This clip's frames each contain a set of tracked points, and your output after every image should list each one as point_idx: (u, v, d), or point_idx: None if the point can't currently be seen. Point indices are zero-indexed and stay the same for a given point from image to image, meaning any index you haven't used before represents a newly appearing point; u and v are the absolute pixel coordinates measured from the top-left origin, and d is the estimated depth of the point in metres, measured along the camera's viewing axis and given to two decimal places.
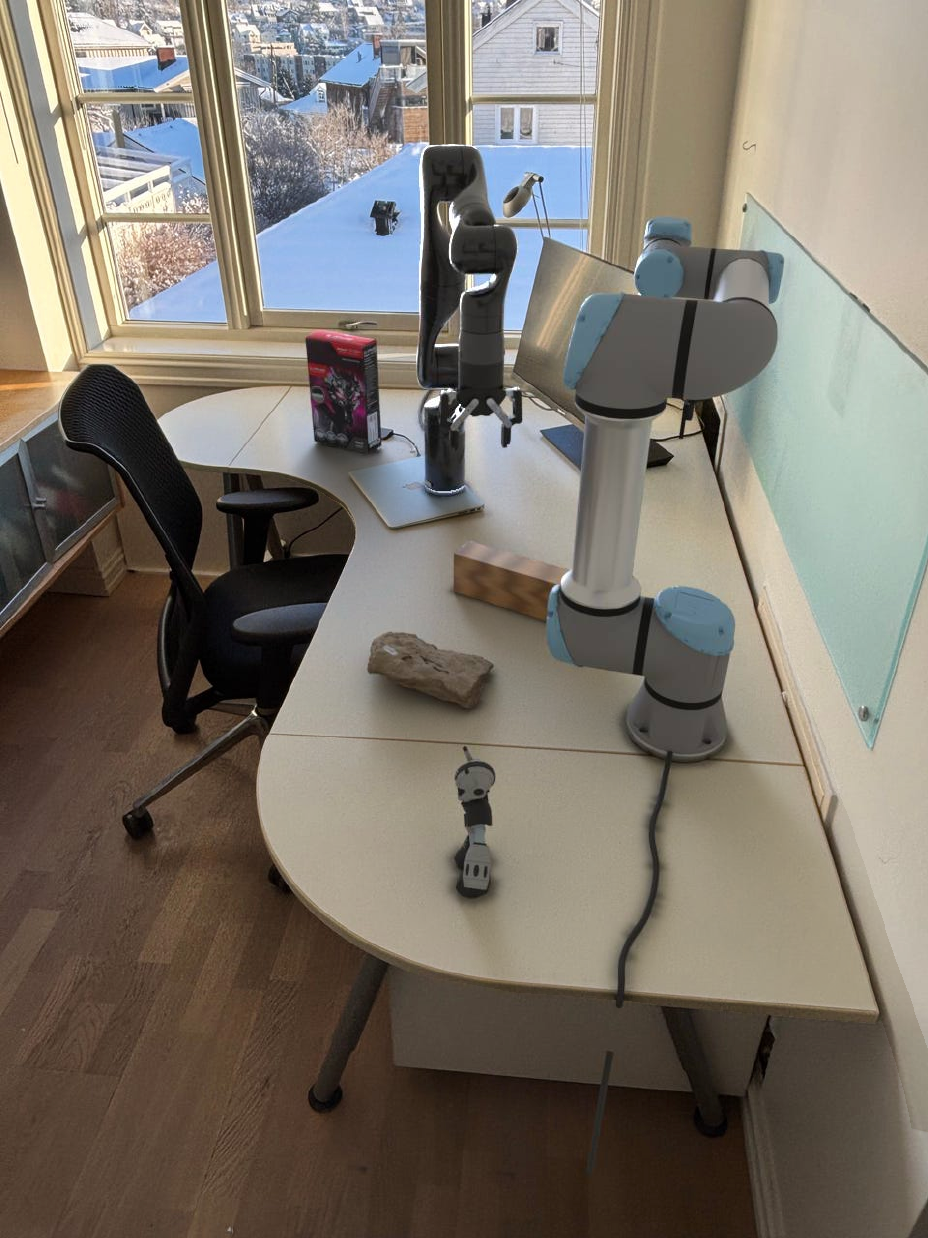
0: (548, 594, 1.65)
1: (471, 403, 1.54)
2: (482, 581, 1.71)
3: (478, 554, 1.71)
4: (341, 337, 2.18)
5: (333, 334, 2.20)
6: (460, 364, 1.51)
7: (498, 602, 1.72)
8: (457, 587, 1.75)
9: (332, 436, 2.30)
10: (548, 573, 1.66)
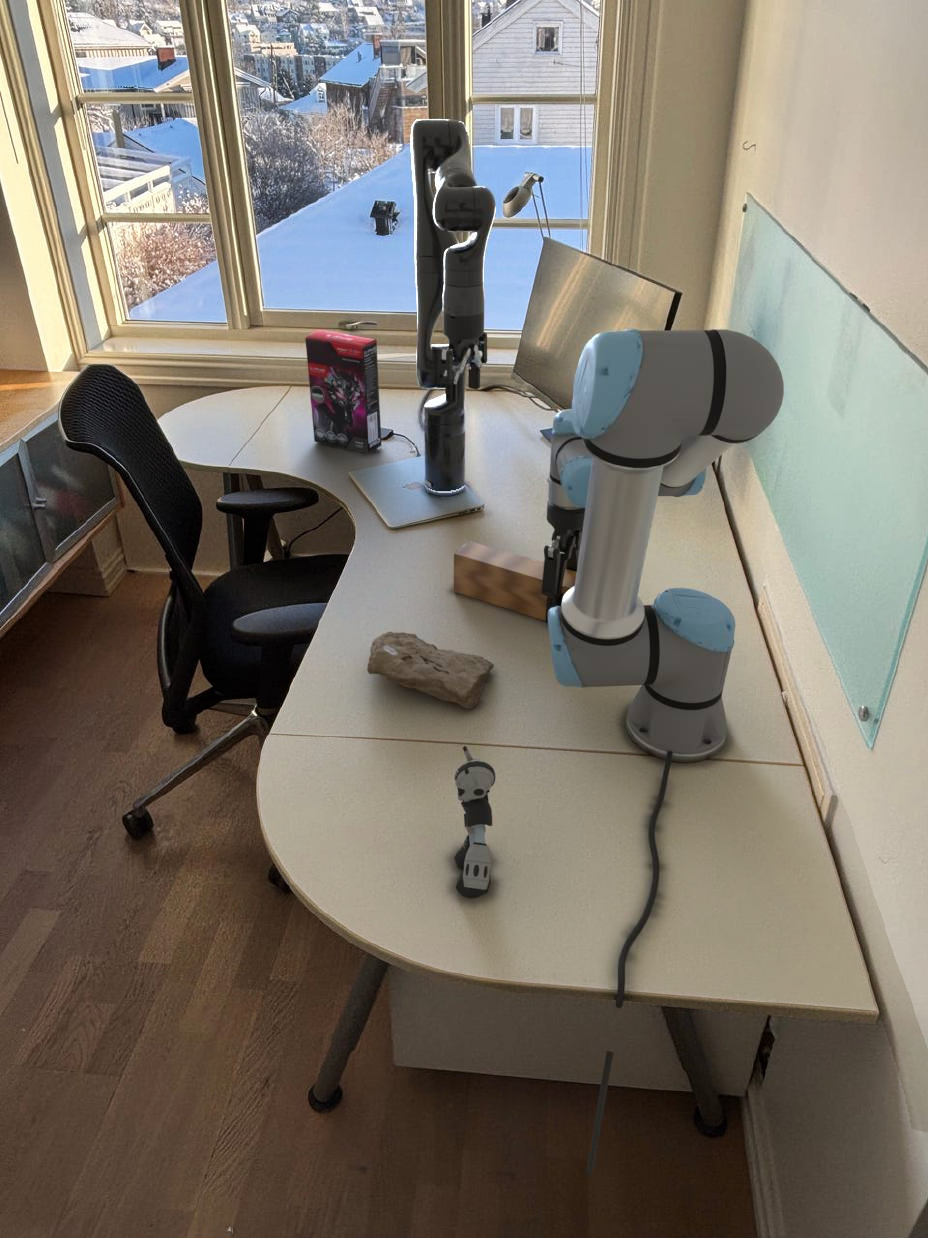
0: None
1: (467, 353, 1.68)
2: (482, 581, 1.71)
3: (478, 554, 1.71)
4: (341, 337, 2.18)
5: (333, 334, 2.20)
6: (457, 319, 1.63)
7: (498, 602, 1.72)
8: (457, 587, 1.75)
9: (332, 436, 2.30)
10: None
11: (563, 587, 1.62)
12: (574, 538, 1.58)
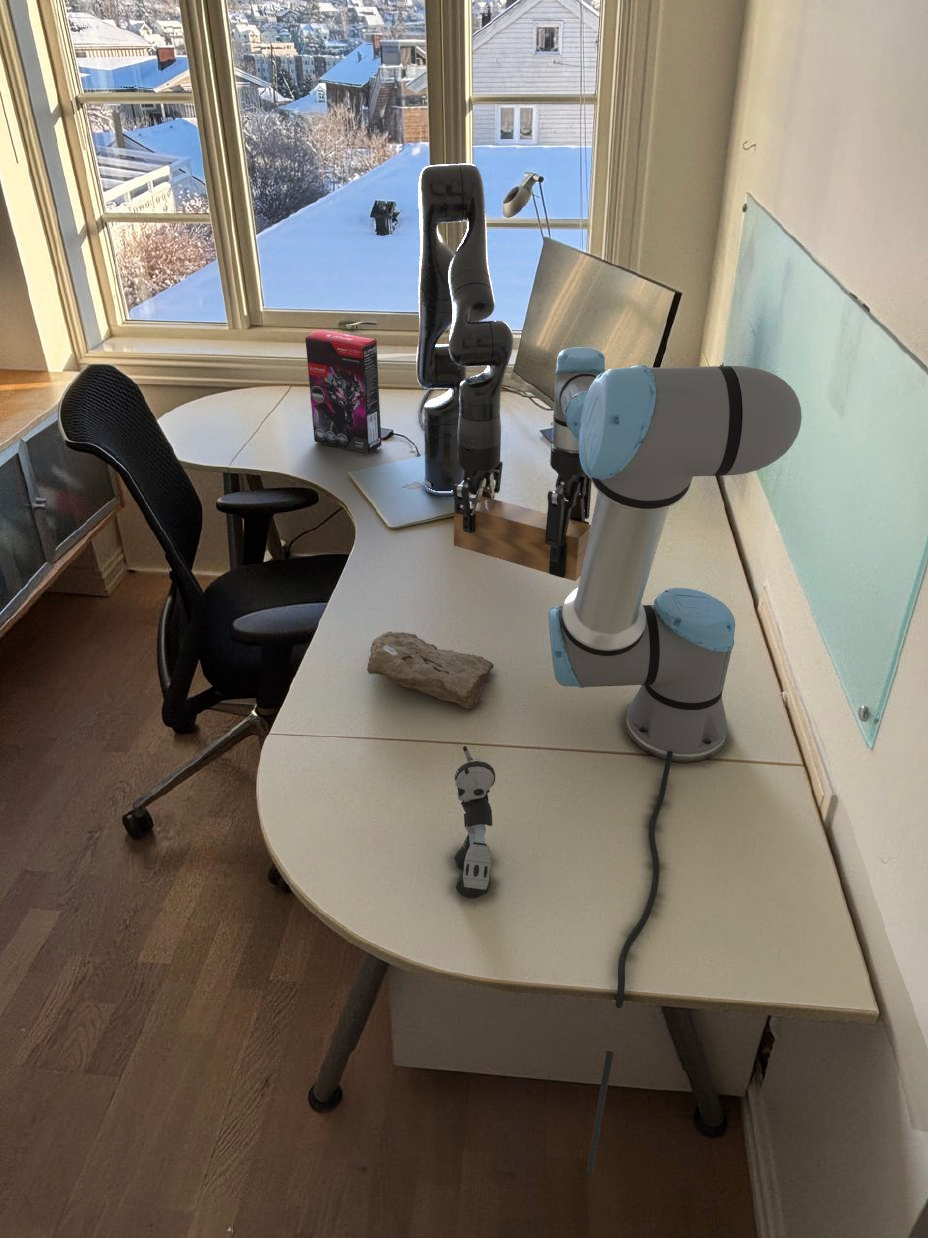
0: None
1: (483, 484, 1.62)
2: (484, 533, 1.66)
3: (479, 506, 1.66)
4: (341, 337, 2.18)
5: (333, 334, 2.20)
6: (473, 452, 1.57)
7: (500, 555, 1.66)
8: (457, 541, 1.70)
9: (332, 436, 2.30)
10: None
11: (567, 537, 1.57)
12: (579, 484, 1.53)
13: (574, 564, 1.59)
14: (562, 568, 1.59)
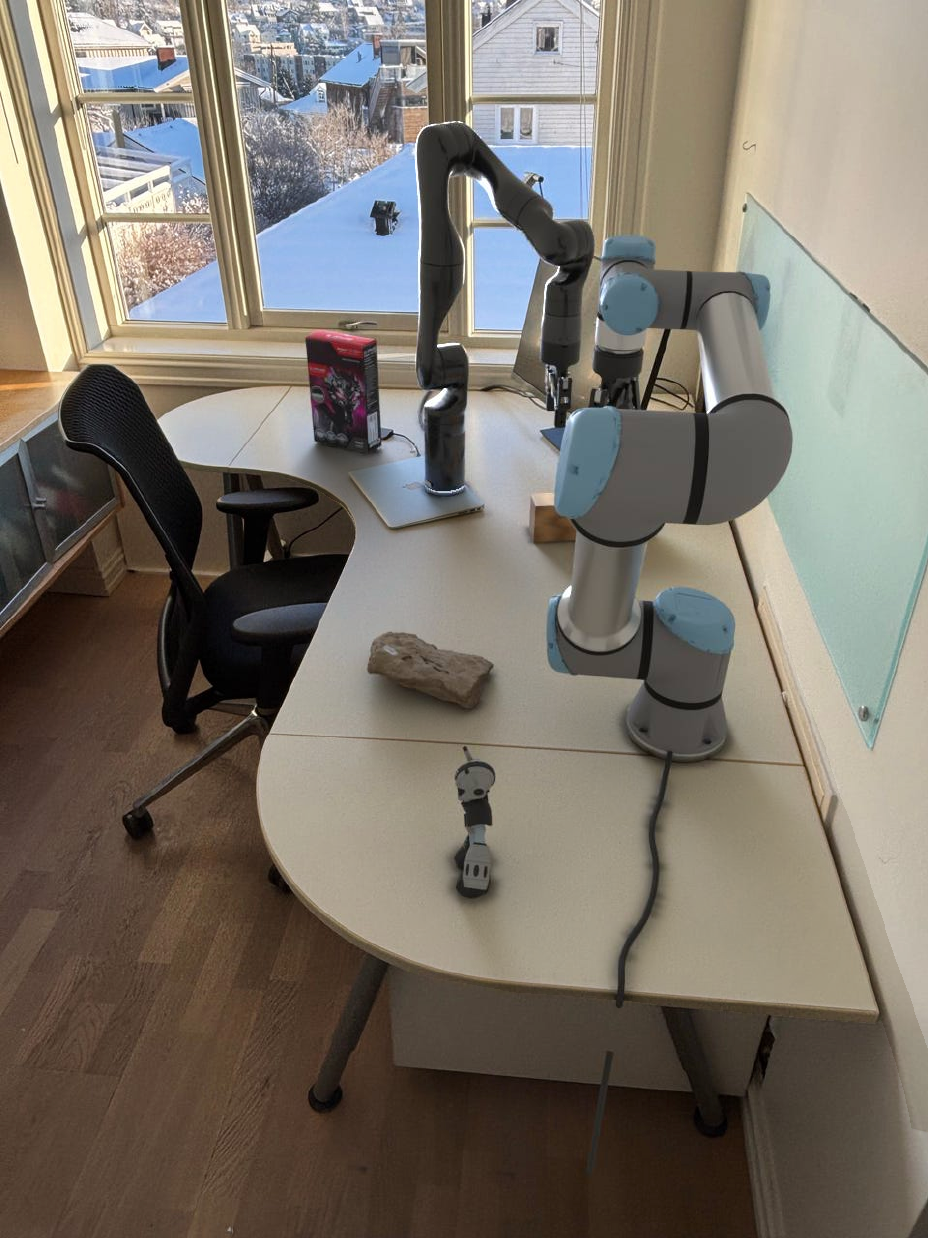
0: None
1: (570, 378, 1.75)
2: (564, 522, 1.91)
3: None
4: (341, 337, 2.18)
5: (333, 334, 2.20)
6: (569, 347, 1.70)
7: None
8: (537, 536, 1.92)
9: (332, 436, 2.30)
10: None
11: None
12: (623, 390, 1.41)
13: None
14: None
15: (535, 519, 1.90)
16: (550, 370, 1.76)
